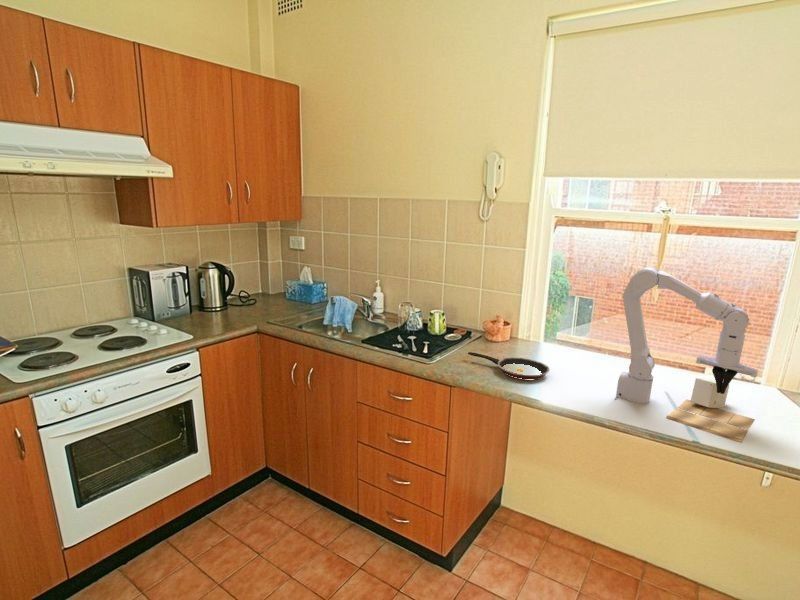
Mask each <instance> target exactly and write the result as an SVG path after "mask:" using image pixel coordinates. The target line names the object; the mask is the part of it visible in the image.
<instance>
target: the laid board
mask: <svg viewBox="0 0 800 600" xmlns="http://www.w3.org/2000/svg"><path fill="white" fill-rule="evenodd" d="M677 409H680V410H684V411H687V412H690V413H693V414H696V415H700V416H703V417H706V418H709V419H713V420H716V421H719V422H722V423H725V424H729V425H732V426H735V427H738V428H741V429H745V430H748V431H749V430H750V429H751V426H752V425H754V424H753V423H754V422H755V420H756V419H754V418H752V417H748V416H744V415H741V414H737V413H734V412H730V411H728V410H724V409H721V408H709V407H706V406H702V405H699V404H696V403H693V402H691V399H687V398H686V399H685V400H684V401H682V403H681V404H680V405H679V406H678V407H677Z"/></svg>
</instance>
